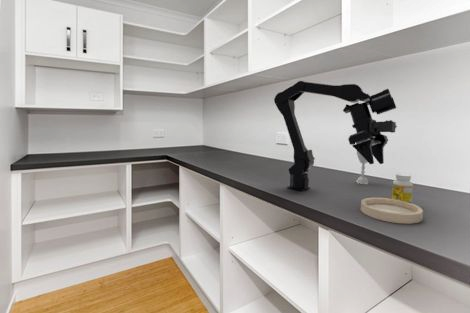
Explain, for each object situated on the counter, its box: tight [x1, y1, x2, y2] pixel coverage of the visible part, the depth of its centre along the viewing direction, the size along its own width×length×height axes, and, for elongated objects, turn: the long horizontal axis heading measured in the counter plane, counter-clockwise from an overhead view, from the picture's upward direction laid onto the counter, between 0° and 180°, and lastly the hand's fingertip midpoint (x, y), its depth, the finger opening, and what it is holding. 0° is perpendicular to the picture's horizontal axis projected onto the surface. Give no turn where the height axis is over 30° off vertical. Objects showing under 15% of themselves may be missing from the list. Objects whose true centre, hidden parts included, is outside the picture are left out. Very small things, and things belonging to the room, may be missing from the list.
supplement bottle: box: [391, 173, 414, 204], centre depth 81 cm, size 5×5×10 cm
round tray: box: [360, 197, 424, 225], centre depth 72 cm, size 15×15×2 cm
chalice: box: [355, 150, 369, 185], centre depth 109 cm, size 7×7×18 cm
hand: (377, 163), depth 81 cm, fingers open, 9 cm apart
